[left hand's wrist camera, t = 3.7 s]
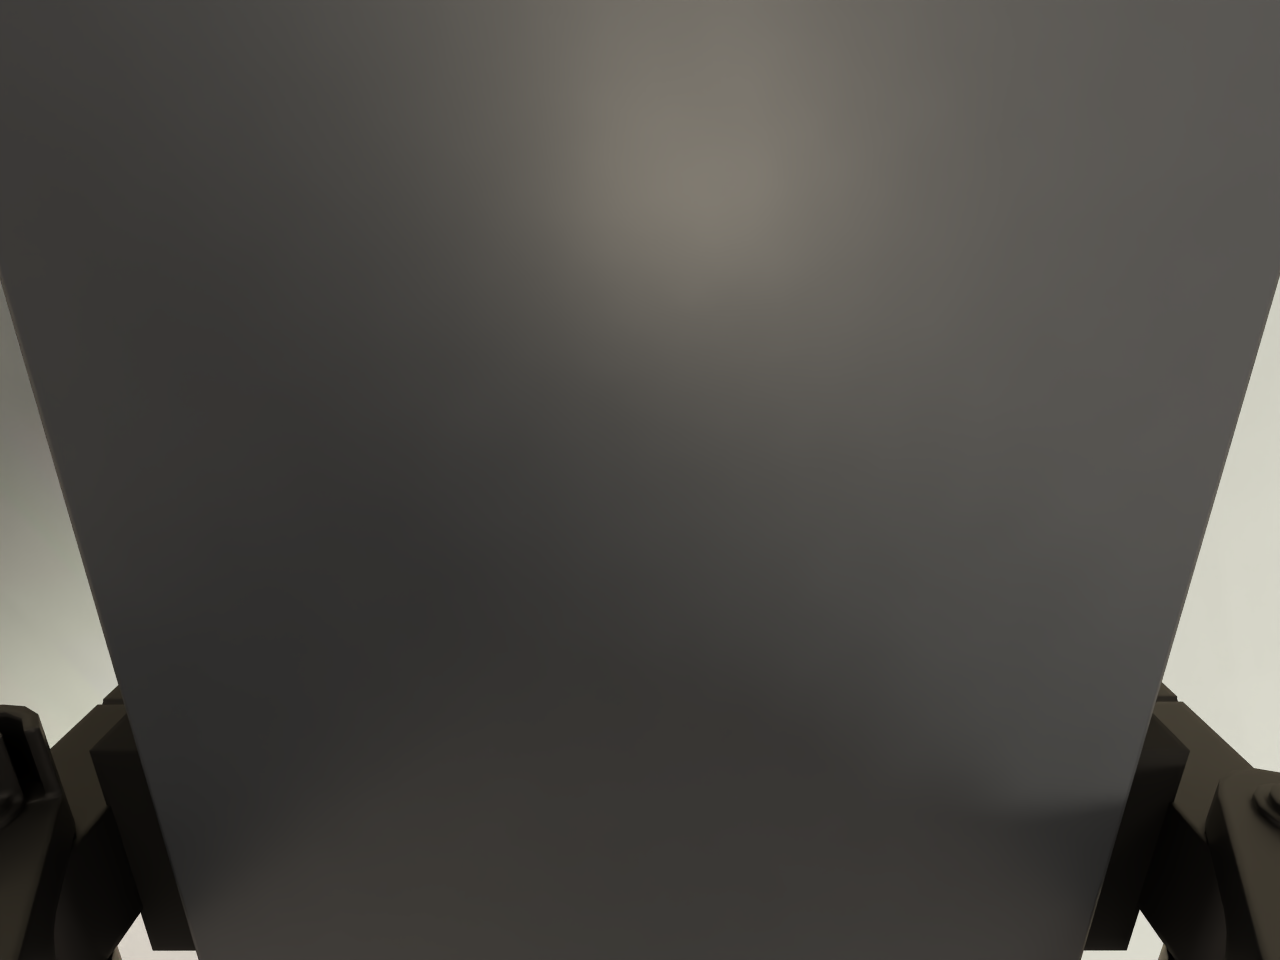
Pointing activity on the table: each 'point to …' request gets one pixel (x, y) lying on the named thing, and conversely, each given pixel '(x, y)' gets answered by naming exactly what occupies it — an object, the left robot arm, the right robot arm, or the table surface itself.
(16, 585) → the table surface
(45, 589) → the table surface
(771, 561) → the long gray bar
